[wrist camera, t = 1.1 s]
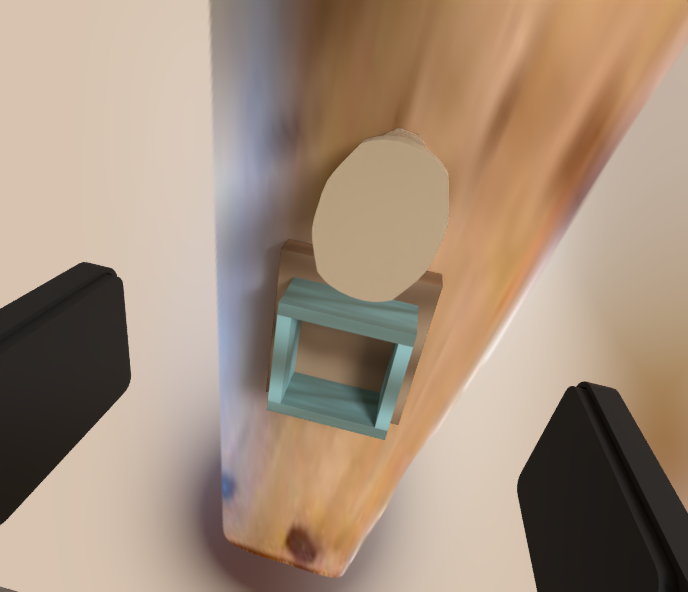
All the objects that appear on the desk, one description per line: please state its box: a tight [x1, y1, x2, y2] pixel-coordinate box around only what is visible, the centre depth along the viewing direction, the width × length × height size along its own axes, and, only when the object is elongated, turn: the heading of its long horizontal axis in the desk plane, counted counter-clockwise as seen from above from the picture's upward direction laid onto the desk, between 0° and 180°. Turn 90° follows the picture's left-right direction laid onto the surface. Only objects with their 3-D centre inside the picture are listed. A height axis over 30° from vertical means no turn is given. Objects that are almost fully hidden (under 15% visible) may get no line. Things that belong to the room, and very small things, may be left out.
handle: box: [312, 128, 449, 302], centre depth 23 cm, size 5×6×15 cm
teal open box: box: [266, 239, 443, 440], centre depth 35 cm, size 14×12×6 cm
